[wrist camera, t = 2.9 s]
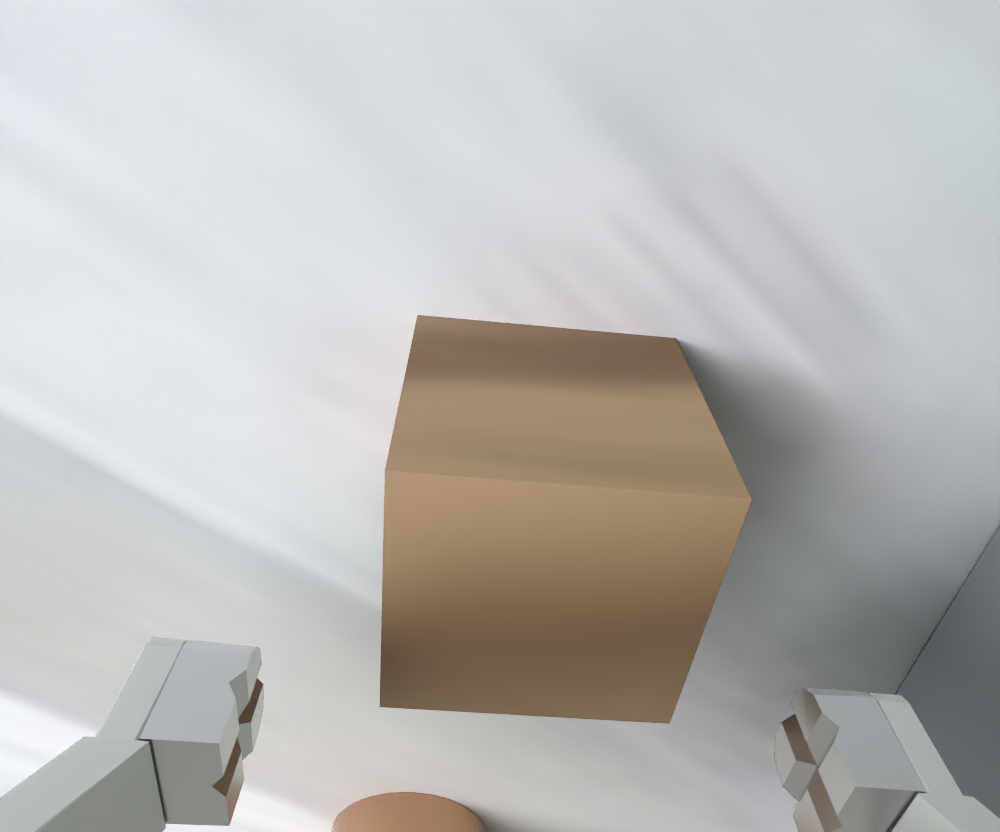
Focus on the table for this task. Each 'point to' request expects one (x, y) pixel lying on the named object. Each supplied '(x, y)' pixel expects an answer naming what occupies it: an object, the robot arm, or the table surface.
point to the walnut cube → (550, 523)
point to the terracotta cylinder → (407, 815)
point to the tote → (965, 683)
